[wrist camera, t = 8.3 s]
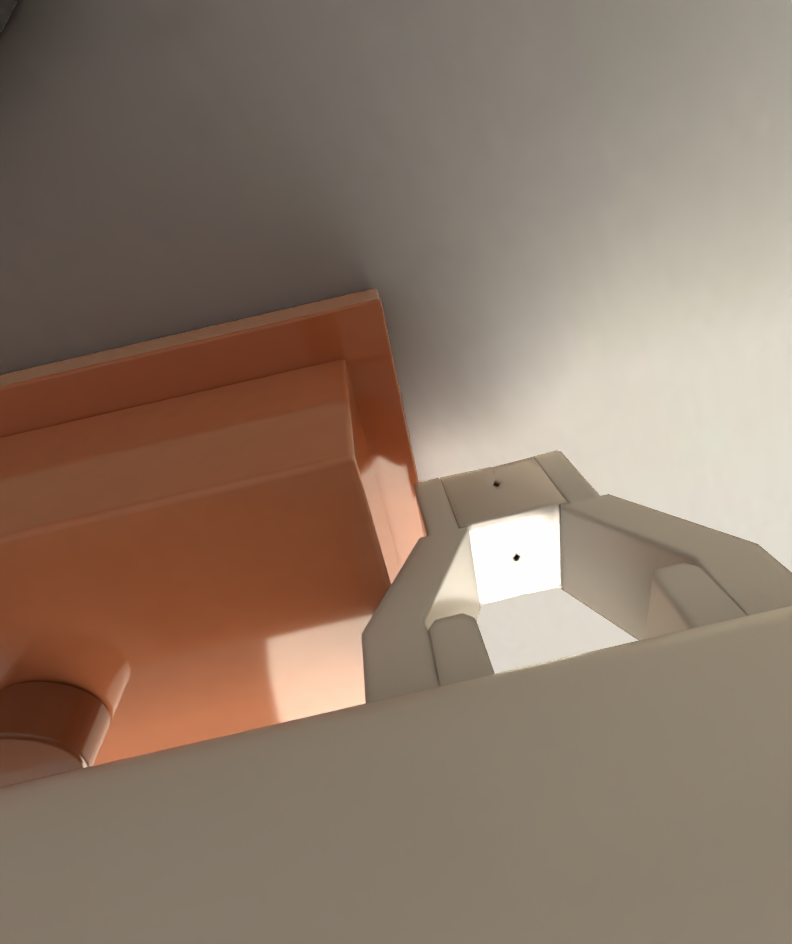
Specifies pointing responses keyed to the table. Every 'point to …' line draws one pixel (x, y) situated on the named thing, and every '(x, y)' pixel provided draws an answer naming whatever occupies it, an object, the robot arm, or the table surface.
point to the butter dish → (197, 533)
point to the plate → (6, 11)
